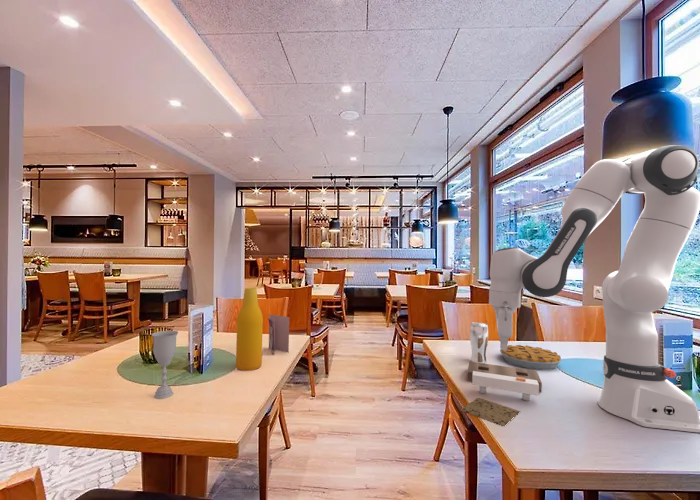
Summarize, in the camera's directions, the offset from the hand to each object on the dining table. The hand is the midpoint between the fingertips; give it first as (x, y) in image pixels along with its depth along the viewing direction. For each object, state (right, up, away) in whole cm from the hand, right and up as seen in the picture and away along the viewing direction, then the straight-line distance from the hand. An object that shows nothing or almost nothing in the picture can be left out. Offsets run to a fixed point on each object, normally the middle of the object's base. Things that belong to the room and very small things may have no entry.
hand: (502, 345), depth 100 cm
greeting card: (-78, -15, +41) cm, 89 cm away
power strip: (0, -15, 0) cm, 15 cm away
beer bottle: (-84, -14, +21) cm, 88 cm away
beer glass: (+5, -16, +32) cm, 36 cm away
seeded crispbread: (-8, -16, -10) cm, 20 cm away
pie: (+26, -17, +33) cm, 45 cm away
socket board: (+6, -16, +13) cm, 21 cm away
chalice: (-101, -14, -4) cm, 102 cm away
